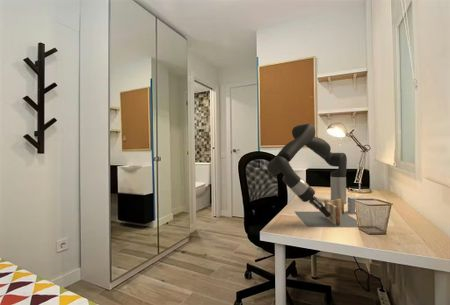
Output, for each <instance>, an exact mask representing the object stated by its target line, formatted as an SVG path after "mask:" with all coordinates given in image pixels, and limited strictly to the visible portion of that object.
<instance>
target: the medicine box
mask: <svg viewBox="0 0 450 305" xmlns="http://www.w3.org/2000/svg"><path fill="white" fill-rule="evenodd" d="M355 199H366V198H365V197H362V196H351V197H349V196H348V197H347V212H348V213H349V214H351V215H354V214H356V212H355ZM356 215H357V214H356Z"/></svg>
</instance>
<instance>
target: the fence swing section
mask: <svg viewBox="0 0 450 305" xmlns="http://www.w3.org/2000/svg"><path fill="white" fill-rule="evenodd" d="M326 210H327V211H328V212H329V213H330V214H331V215H330V216H329V217H328V218H329V219H330V220H332V221H333V222H334V223H336V225H340V207H336V206H335V205H333V204H331V203H329V202H326Z"/></svg>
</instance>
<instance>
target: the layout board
mask: <svg viewBox="0 0 450 305" xmlns="http://www.w3.org/2000/svg"><path fill="white" fill-rule="evenodd" d="M294 213H295V214H296V216H297V217H298V218H299V219H300V220H301V222H302V223H303V224H304V225H305V226H306V228H359V227H358V224H357V219H356V218H354V217H352V216H351V215H350V214H347V213H346V212H344V214H340V225H336V223H334V222H333V221H332V220H330V219H329V218H328V217H325V215H324V214H323V213H322V212H321V211H294Z"/></svg>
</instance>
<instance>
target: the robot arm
mask: <svg viewBox="0 0 450 305" xmlns="http://www.w3.org/2000/svg"><path fill="white" fill-rule="evenodd" d="M291 134H292V138H293V140H291V141H290V142H288V143H286V144H285V145H284V146H283V147H282V148H281V149H280V151H279V152H278V154H276V156H274V157H273V158H272V159H271V160H270V161H269V162H268V164H267V166H266V168H267V171H268V173H270V174H271V175H273V176H276V175H279V174H280V173H282V174H283V176H282V182H283V183H284V184H285V185H286V186H287V187H288V188H289V189H290V190H291V192H292V193H294V195H295V196H296V197H298V198H299V200H301V201H302V202H303V203H306V202H308V203H309V204H310V205H311V206H312V207H314V208H315V209H316V210H318V212H322V213H323V214H324V215H325V216H326V217H329V216H330V215H331V214H330V213H329V212H328V211H327V210H326V208H325V207H324V205H323V203H322V202H321V201H320V200H319V198H318V197H316V196H315V194H316V191H315V189H313V188H312V187H311V186H310V185H309V184H308V183H307V182H306V181H305V180H304V179H302V178H301V177H300V176H299V175H298V174H297V173H296V172H295V170H294V169H293V167H292V166H291V164H290V162H291V161H292V160H293V158H294V157H295V156H296V155H297V153H299V151H300V150H301V149H302V148H304V147H307V148H308V149H309V150H311V151H312V152H314V153H315V154H316V155H318V156H319V157H320V158H321V159H322V160H324V161H325V163H326V164H328V166H330V167H335V168H336V167H338V168H337V169H336V170H334V171H331V172H330V201H331V200H337V199H340V198H344V205H345V204H347V167H348V166H347V164H348V163H347V162H348V158H347V154H346V153H344V152H331V150H332V149H331V145H330V144H329V143H328V142H327V141H326V140H324V139H323V138H321V137H319V136H318V137H317V136H316V129H315V126H314V125H313V124H311V123H305V124H304V123H303V124H299V125H295V126H294V127H292V130H291Z"/></svg>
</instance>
